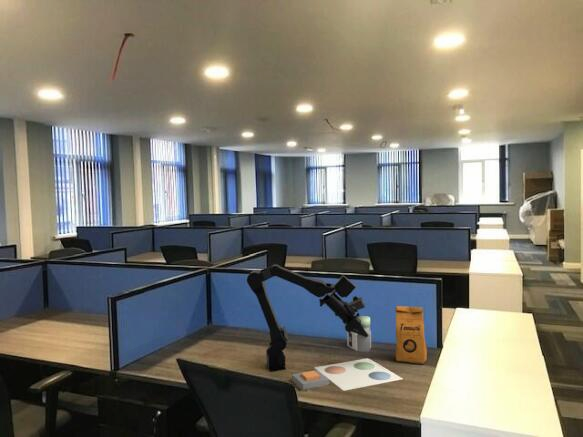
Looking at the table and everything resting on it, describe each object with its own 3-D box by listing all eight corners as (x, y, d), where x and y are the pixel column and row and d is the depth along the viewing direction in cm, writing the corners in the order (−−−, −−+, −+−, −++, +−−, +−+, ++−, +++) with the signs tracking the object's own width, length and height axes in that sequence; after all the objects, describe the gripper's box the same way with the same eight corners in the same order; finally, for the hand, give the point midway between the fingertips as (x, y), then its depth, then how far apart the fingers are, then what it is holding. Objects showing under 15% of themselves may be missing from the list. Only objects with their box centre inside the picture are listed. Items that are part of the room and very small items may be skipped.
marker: (365, 352, 180) (365, 320, 179) (354, 350, 183) (353, 317, 183) (373, 349, 183) (372, 317, 183) (362, 346, 187) (361, 315, 186)
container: (356, 351, 204) (355, 321, 203) (347, 345, 211) (346, 317, 211) (371, 348, 207) (371, 318, 207) (361, 343, 214) (361, 314, 214)
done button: (306, 383, 167) (306, 377, 166) (301, 378, 171) (301, 372, 171) (319, 381, 168) (319, 375, 168) (313, 376, 173) (313, 370, 173)
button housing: (303, 391, 163) (302, 384, 163) (292, 381, 173) (292, 374, 173) (329, 386, 167) (329, 379, 167) (317, 376, 176) (317, 370, 176)
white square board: (343, 392, 161) (343, 390, 161) (314, 369, 184) (314, 367, 184) (403, 381, 170) (403, 378, 170) (368, 360, 192) (368, 357, 192)
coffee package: (425, 366, 184) (425, 310, 183) (393, 363, 188) (392, 308, 187) (428, 358, 193) (428, 304, 192) (397, 355, 198) (397, 302, 197)
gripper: (353, 296, 173) (385, 326, 173) (351, 286, 192) (379, 313, 192) (332, 317, 174) (363, 347, 174) (332, 305, 193) (359, 332, 193)
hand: (367, 334), depth 183 cm, fingers closed on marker, 5 cm apart
